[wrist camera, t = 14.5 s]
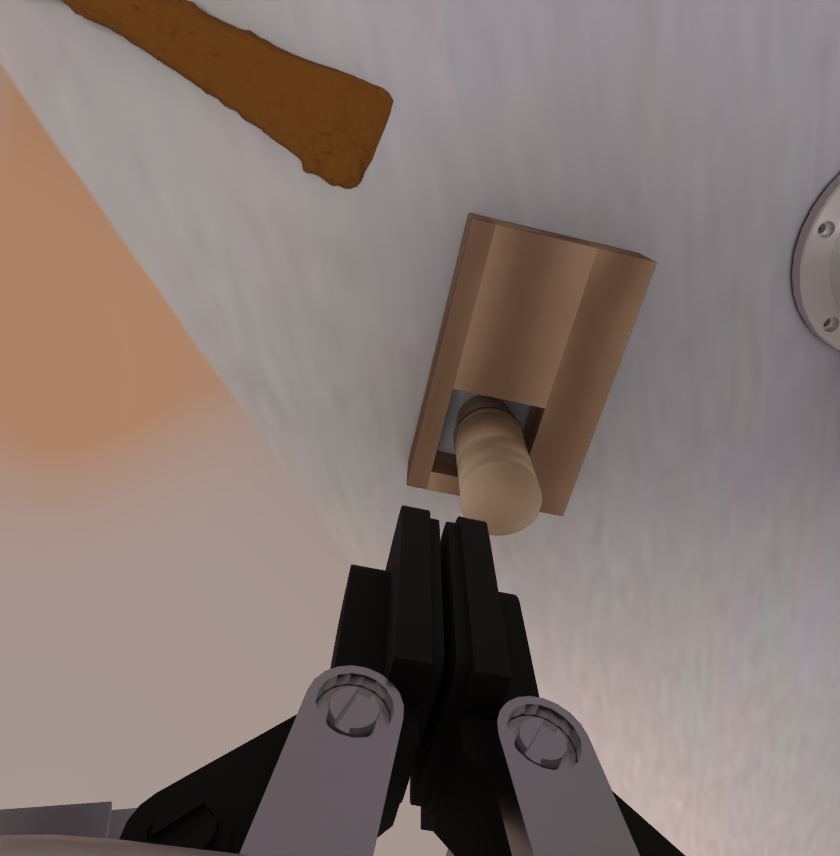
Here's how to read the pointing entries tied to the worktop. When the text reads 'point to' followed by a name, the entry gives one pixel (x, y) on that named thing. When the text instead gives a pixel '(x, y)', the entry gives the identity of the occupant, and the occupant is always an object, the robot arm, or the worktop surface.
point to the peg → (495, 467)
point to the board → (531, 345)
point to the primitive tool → (259, 82)
